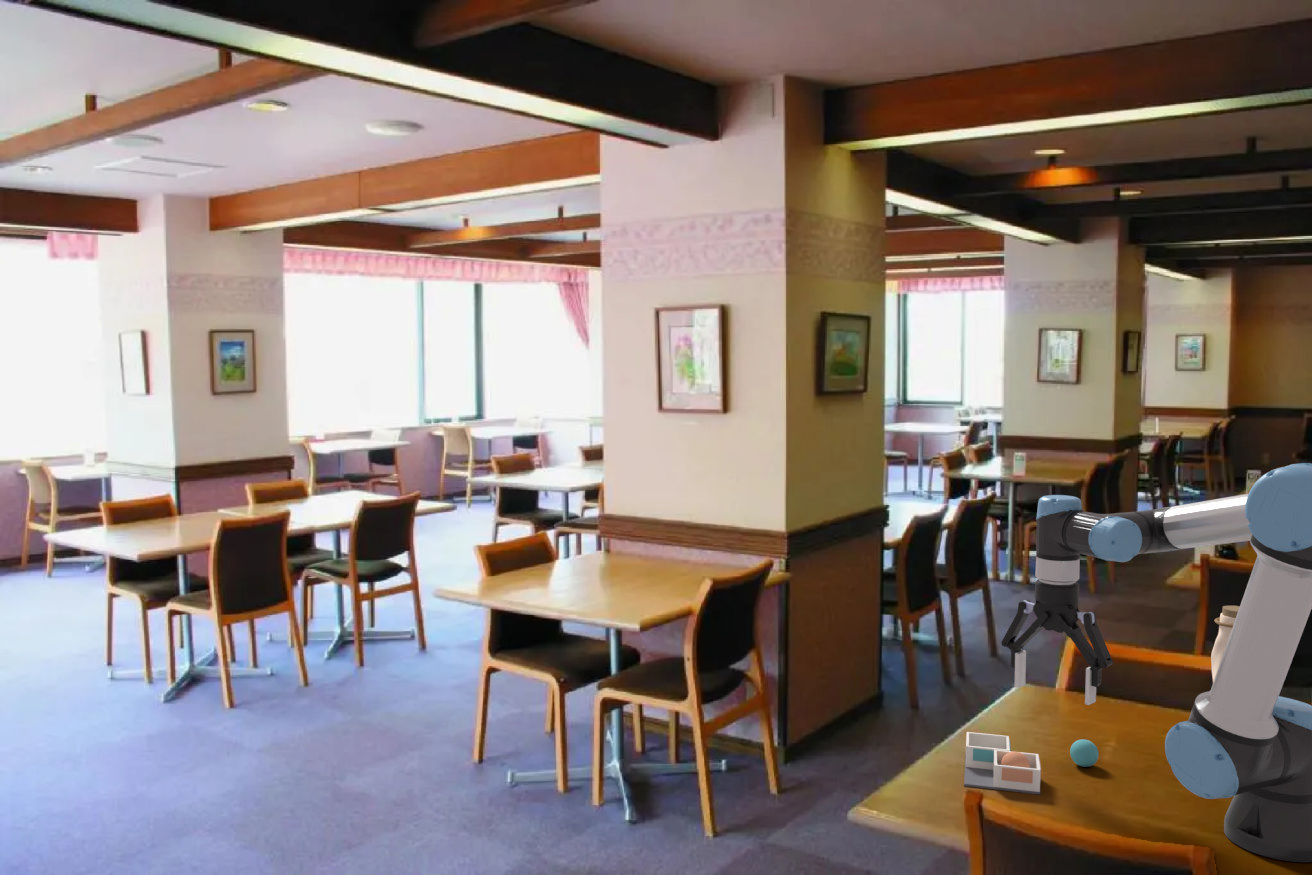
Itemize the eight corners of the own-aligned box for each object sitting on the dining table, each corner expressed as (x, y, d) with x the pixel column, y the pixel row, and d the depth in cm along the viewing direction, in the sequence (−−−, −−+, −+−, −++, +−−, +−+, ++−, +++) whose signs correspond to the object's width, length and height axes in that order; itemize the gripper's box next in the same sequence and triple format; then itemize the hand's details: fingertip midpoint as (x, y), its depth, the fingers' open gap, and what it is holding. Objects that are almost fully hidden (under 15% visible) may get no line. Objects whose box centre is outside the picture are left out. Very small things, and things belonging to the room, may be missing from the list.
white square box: (1041, 794, 192) (1041, 770, 191) (993, 789, 194) (994, 765, 194) (1038, 777, 200) (1039, 754, 199) (993, 772, 202) (993, 749, 201)
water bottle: (1250, 740, 218) (1257, 603, 215) (1271, 757, 209) (1278, 614, 206) (1197, 738, 219) (1203, 602, 216) (1215, 755, 210) (1222, 613, 207)
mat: (1040, 794, 192) (1040, 792, 192) (964, 785, 196) (964, 783, 196) (1036, 760, 207) (1036, 758, 207) (965, 753, 211) (965, 751, 211)
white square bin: (1010, 774, 201) (1010, 751, 201) (965, 769, 203) (965, 746, 203) (1009, 758, 209) (1009, 735, 208) (966, 753, 211) (966, 731, 210)
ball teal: (1099, 772, 202) (1100, 746, 201) (1070, 769, 203) (1071, 743, 203) (1096, 762, 206) (1097, 736, 206) (1068, 759, 208) (1069, 734, 207)
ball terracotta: (1030, 781, 194) (1030, 752, 195) (1000, 778, 195) (1001, 749, 197) (1028, 781, 199) (1029, 753, 200) (1000, 777, 200) (1001, 749, 201)
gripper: (1134, 587, 191) (1131, 705, 193) (1004, 567, 209) (1002, 675, 211) (1116, 594, 186) (1112, 715, 188) (984, 573, 204) (982, 683, 206)
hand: (1054, 694), depth 199 cm, fingers open, 13 cm apart
